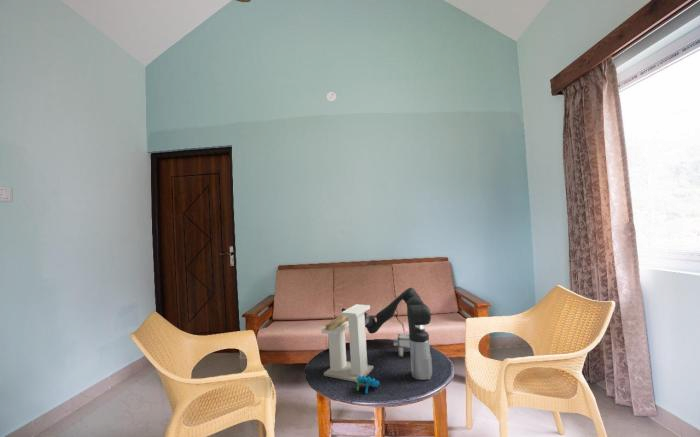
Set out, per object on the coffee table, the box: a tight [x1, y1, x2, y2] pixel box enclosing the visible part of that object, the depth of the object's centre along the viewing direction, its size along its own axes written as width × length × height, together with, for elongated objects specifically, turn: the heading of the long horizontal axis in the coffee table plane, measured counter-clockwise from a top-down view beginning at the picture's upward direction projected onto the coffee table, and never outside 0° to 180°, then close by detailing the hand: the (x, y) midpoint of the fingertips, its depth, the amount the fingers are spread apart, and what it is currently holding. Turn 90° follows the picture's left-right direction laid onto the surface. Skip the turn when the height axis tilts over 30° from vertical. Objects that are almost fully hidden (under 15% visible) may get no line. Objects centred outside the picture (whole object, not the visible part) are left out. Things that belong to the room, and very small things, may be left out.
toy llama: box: [393, 325, 426, 358], centre depth 172 cm, size 8×18×20 cm, turn 78°
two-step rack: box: [321, 303, 375, 383], centre depth 155 cm, size 20×16×32 cm
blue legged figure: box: [355, 376, 380, 395], centre depth 135 cm, size 11×6×10 cm
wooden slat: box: [325, 315, 349, 331], centre depth 162 cm, size 3×25×3 cm, turn 153°
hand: (349, 310), depth 171 cm, fingers open, 8 cm apart
